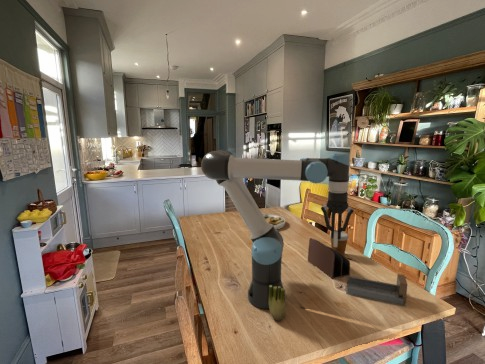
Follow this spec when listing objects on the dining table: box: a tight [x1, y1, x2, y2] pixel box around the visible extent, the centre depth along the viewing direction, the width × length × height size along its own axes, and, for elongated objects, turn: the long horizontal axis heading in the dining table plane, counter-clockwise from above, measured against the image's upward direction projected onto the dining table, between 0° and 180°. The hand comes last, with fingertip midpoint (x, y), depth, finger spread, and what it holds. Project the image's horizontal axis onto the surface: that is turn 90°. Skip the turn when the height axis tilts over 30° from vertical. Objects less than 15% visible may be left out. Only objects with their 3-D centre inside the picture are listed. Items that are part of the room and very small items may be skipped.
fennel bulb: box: [268, 285, 287, 321], centre depth 92 cm, size 6×5×12 cm
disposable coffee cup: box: [329, 231, 349, 257], centre depth 141 cm, size 10×10×12 cm
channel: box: [345, 273, 408, 307], centre depth 105 cm, size 10×21×9 cm, turn 66°
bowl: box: [244, 213, 286, 231], centre depth 190 cm, size 30×30×8 cm
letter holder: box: [307, 237, 351, 280], centre depth 126 cm, size 10×20×14 cm, turn 19°
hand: (335, 245), depth 109 cm, fingers closed
